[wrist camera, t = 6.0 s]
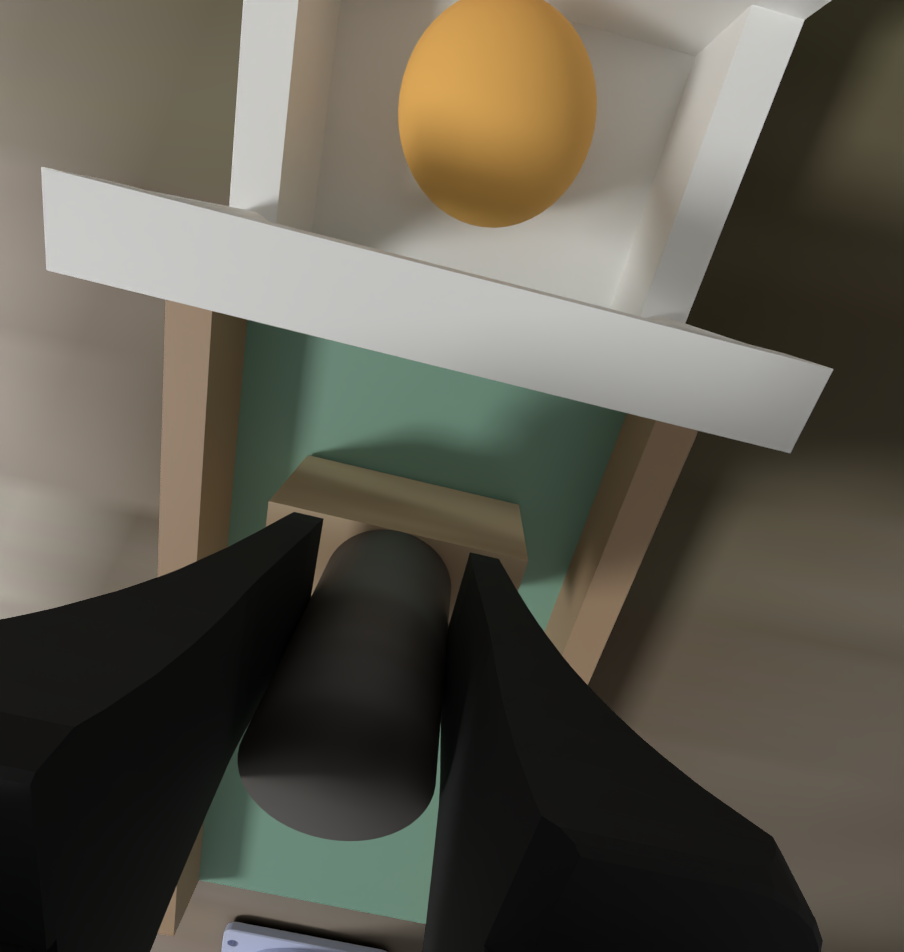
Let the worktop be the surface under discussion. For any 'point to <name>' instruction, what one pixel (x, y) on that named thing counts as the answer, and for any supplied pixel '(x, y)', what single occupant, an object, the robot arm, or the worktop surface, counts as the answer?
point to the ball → (497, 110)
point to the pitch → (445, 333)
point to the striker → (368, 649)
